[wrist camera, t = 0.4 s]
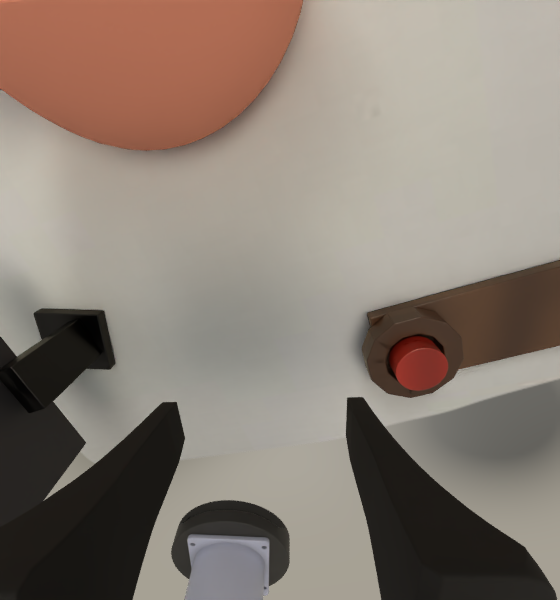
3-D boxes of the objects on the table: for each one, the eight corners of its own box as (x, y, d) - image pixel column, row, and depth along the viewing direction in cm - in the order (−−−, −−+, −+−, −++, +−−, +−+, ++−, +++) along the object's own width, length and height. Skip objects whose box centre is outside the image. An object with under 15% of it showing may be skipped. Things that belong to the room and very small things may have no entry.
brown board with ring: (369, 383, 24) (378, 405, 22) (351, 315, 22) (359, 332, 20) (642, 317, 21) (685, 335, 19) (653, 233, 19) (703, 242, 17)
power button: (393, 380, 22) (400, 396, 20) (384, 342, 20) (391, 355, 19) (440, 369, 21) (451, 384, 20) (434, 329, 20) (445, 342, 18)
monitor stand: (57, 362, 24) (-21, 426, 18) (40, 308, 22) (-52, 359, 16) (115, 363, 24) (57, 429, 18) (104, 309, 22) (34, 362, 16)
